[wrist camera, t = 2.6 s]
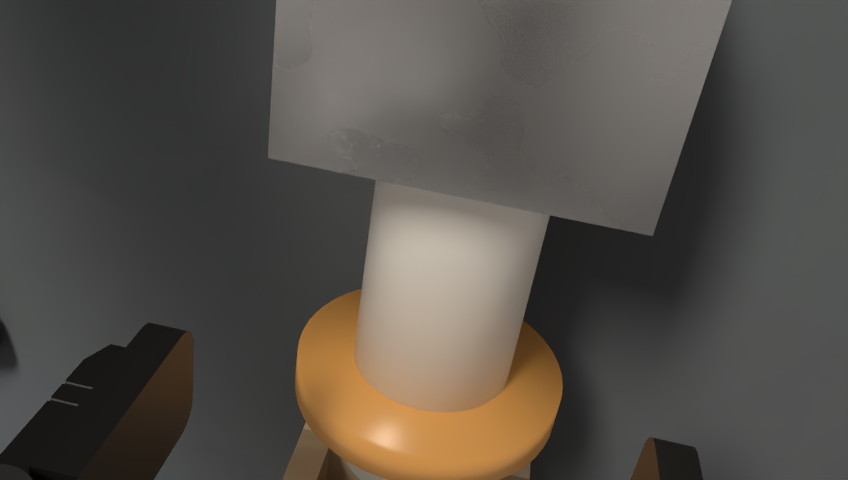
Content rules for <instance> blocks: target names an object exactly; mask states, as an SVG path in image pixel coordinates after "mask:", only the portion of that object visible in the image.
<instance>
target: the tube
mask: <svg viewBox="0 0 848 480" xmlns="http://www.w3.org/2000/svg"><path fill="white" fill-rule="evenodd" d="M549 217H550V215H546V214H541V213H536V212H531V211H526V210H521V209H516V208H511V207H507V206H502V205H497V204H492V203H487V202H482V201H477V200H472V199H467V198H462V197H457V196H452V195H448V194H443V193H438V192H433V191H428V190H423V189H418V188H413V187H408V186H403V185H398V184H393V183H388V182H384V181H379V180H376V182H375V190H374V198H373V205H372V213H371V221H370V228H369V236H368V244H367V251H366V259H365V267H364V274H363V282H362V289H358V290H355V291H352V292H349V293H347V294H344V295H342V296H340V297H338V298H336V299H334V300H332V301H331V302H329V303H328V304H326V305H325V306H323V307H322V308H321V309H320V310H318V311H317V312H316V313H315V314H314V315H313V317H312V318H311V319H310V320H309V321H308V323H307V324H306V326H305V328H304V329H303V331H302V334H301V337H300V339H299V344H298V351H297V362H296V374H295V394H296V398H297V403H298V406H299V409H300V411H301V413H302V415H303V418H304V419H305V421H306V422H307V424H308V425H309V427H310V429H311V430H312V431H313V432H314V434H315V435H316V436H317V437H318V438H319V439H320V440H321V441H322V442H323V443H324V444H325V445H326V446H327V447H328V448H330V449H331V450H332V451H333V452H334V453H335V454H337V455H338V456H340V457H341V458H343V459H344V460H346V462H347V464H348V466H349V467H350V469H351V470H352V472H353V473H354V474H355V475H356V476H357V477H358V478H359V479H360V480H500V479H502V478H505V477H507V476H510V475H512V474H513V473H515V472H517V471H519V470H520V469H522V468H524V467H525V466H526V465H527V464H529V463H530V462H531V461H532V460H533V459H535V457H536V456H537V455H538V454H539V453H540V452H541V450H542V449H543V448H544V446H545V444H546V442H547V441H548V439H549V437H550V433H551V430H552V427H553V424H554V421H555V418H556V414H557V411H558V408H559V405H560V401H561V398H562V390H563V382H562V374H561V371H560V367H559V364H558V362H557V360H556V358H555V355H554V353H553V352H552V350H551V349H550V347H549V346H548V344H547V343H546V342H545V341H544V340H543V338H542V337H541V336H540V335H539V334H538V333H537V332H536V331H535V330H534V329H533V328H532V327H531V326H530V325H528V324H527V323H526V322H525V321H523V318H524V314H525V310H526V306H527V302H528V298H529V295H530V291H531V287H532V283H533V279H534V275H535V271H536V267H537V264H538V260H539V256H540V252H541V248H542V244H543V240H544V236H545V233H546V229H547V225H548V221H549Z"/></svg>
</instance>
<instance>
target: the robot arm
mask: <svg viewBox="0 0 848 480" xmlns="http://www.w3.org/2000/svg"><path fill="white" fill-rule="evenodd" d="M192 394H193V336H192V334H191V332H189V331H184V330H180V329H176V328H171V327H167V326H162V325H158V324H153V323H147V324H146V325H144V326H143V327H142V329H141V330H140V331H139V332H138V333H137V335H136V336H135V337H134V338H133V339H132V341H131V342H130V343H129V344H128V346H127V347H126V348H125V347H121V346H117V345H112V344H111V345H109V346H107V347H105V348H103V349H102V350H100V351H98V352H96V353H95V354H93V355H91V356H89V357H87V358H86V359H84V360H83V361H82V362H81V363H80V365H79V366H78V367H77V368H76V369H75V370H74V371H73V372H72V374H71V375H70V376H69V377H68V378H67V379H66V383H65V384H62V385H61V386H60V387H59V388H58V390H57V391H56V392H55V393H54V394H53V395H52V396H51V400H50V401H47V402H46V403H45V404H44V405H43V407H42V408H41V409H40V410H39V411H38V412H37V413H36V414H35V416H34V417H33V418H32V419H31V420H30V421H29V422H28V424H27V425H26V426H25V427H24V428H23V429H22V430H21V432H20V433H19V434H18V435H17V436H16V437H15V438H14V439H13V441H12V442H11V443H10V444H9V445H8V446H7V447H6V449H5V450H4V451H3V452H2V453H1V454H0V480H154V478H155V477H156V475H157V473H158V472H159V470H160V468H161V467H162V465H163V464H164V462H165V460H166V459H167V457H168V456H169V454H170V452H171V451H172V449H173V447H174V446H175V444H176V443H177V441H178V439H179V438H180V436H181V434H182V433H183V431H184V429H185V426H186V424H187V421H188V418H189V415H190V411H191V406H192ZM631 480H703V478H702V473H701V468H700V463H699V458H698V453H697V451H696V449H695V448H694V447H692V446H687V445H683V444H678V443H674V442H670V441H665V440H661V439H656V438H652V437H650V438H648V440H647V441H646V443H645V445H644V447H643V450H642V452H641V455H640V457H639V460H638V462H637V465H636V468H635V470H634V473H633V475H632V478H631Z"/></svg>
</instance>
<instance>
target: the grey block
mask: <svg viewBox="0 0 848 480" xmlns="http://www.w3.org/2000/svg"><path fill="white" fill-rule="evenodd" d="M731 2H732V0H276V17H275V35H274V54H273V72H272V91H271V109H270V128H269V146H268V158H270V159H275V160H280V161H285V162H290V163H295V164H300V165H305V166H310V167H315V168H320V169H325V170H329V171H334V172H339V173H344V174H349V175H354V176H359V177H364V178H369V179H374V180H379V181H384V182H388V183H393V184H398V185H403V186H408V187H413V188H418V189H423V190H428V191H433V192H438V193H443V194H448V195H452V196H457V197H462V198H467V199H472V200H477V201H482V202H487V203H492V204H497V205H502V206H507V207H511V208H516V209H521V210H526V211H531V212H536V213H541V214H546V215H551V216H556V217H561V218H566V219H571V220H575V221H580V222H585V223H590V224H595V225H600V226H605V227H610V228H615V229H620V230H625V231H630V232H634V233H639V234H644V235H649V236H653V234H654V231H655V228H656V225H657V222H658V219H659V216H660V213H661V210H662V207H663V204H664V201H665V198H666V195H667V192H668V189H669V186H670V183H671V180H672V177H673V174H674V171H675V168H676V165H677V162H678V159H679V156H680V153H681V150H682V147H683V144H684V142H685V139H686V136H687V133H688V130H689V127H690V124H691V121H692V118H693V115H694V112H695V109H696V106H697V103H698V100H699V97H700V94H701V91H702V88H703V85H704V82H705V79H706V76H707V73H708V70H709V67H710V64H711V61H712V58H713V55H714V52H715V49H716V46H717V43H718V40H719V38H720V35H721V32H722V29H723V26H724V23H725V20H726V17H727V14H728V11H729V8H730V5H731Z"/></svg>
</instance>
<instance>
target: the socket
mask: <svg viewBox="0 0 848 480" xmlns="http://www.w3.org/2000/svg"><path fill="white" fill-rule="evenodd" d="M530 464H531V462H530V463H529V464H527V465H526V466H525V467H524V468H522V469H520V470H519V471H517V472H515V473H513V474H512V475H510V476H507V477H505V478H502V479H500V480H530ZM282 480H360V479H359V478H358V477H357V476H356V475H355V474H354V473H353V472H352V470H351V469H350V467H349V466H348V464H347V462H346V460H344V459H343V458H341V457H340V456H338V455H337V454H335V453H334V452H333V451H332V450H331V449H330V448H328V447H327V446H326V445H325V444H324V443H323V442H322V441H321V440H320V439H319V438H318V437H317V436H316V435H315V434H314V432H313V431H312V430H311V429H310V427H309V425H308V424H307V422H306V423H305V425H304V428H303V430H302V433H301V435H300V438H299V440H298V442H297V445H296V447H295V450H294V452H293V454H292V457H291V459H290V462H289V464H288V466H287V469H286V471H285V474H284V476H283V478H282Z"/></svg>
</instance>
